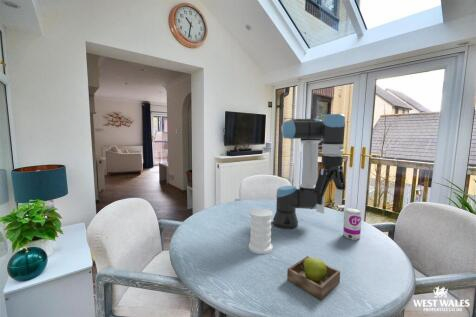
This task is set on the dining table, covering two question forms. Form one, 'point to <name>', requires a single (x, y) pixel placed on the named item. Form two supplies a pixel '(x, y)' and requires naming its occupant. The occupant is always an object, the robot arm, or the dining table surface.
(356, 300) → the dining table surface
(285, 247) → the dining table surface
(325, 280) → the walnut box
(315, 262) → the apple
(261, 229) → the decorative container
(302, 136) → the robot arm
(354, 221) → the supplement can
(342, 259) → the dining table surface
